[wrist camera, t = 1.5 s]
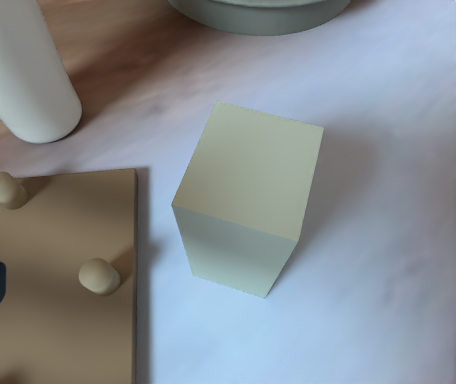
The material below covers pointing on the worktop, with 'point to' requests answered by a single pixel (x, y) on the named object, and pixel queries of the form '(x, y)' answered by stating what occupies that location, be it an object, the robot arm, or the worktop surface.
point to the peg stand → (69, 278)
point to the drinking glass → (33, 77)
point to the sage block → (246, 196)
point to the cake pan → (261, 14)
